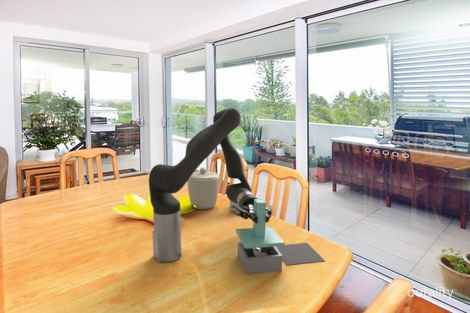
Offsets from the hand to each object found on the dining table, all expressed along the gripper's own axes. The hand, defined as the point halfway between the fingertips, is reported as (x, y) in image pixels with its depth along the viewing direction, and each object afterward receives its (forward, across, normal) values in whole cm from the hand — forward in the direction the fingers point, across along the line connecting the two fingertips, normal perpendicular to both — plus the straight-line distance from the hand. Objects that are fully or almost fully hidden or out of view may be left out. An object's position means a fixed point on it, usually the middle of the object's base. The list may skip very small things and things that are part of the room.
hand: (262, 219), depth 99 cm
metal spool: (-6, 0, +17) cm, 18 cm away
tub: (-3, 0, +17) cm, 18 cm away
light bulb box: (-61, +6, +17) cm, 63 cm away
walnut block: (0, 0, +17) cm, 17 cm away
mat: (-7, +16, +17) cm, 25 cm away
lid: (-3, 0, +8) cm, 8 cm away
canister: (-67, -11, +17) cm, 70 cm away
